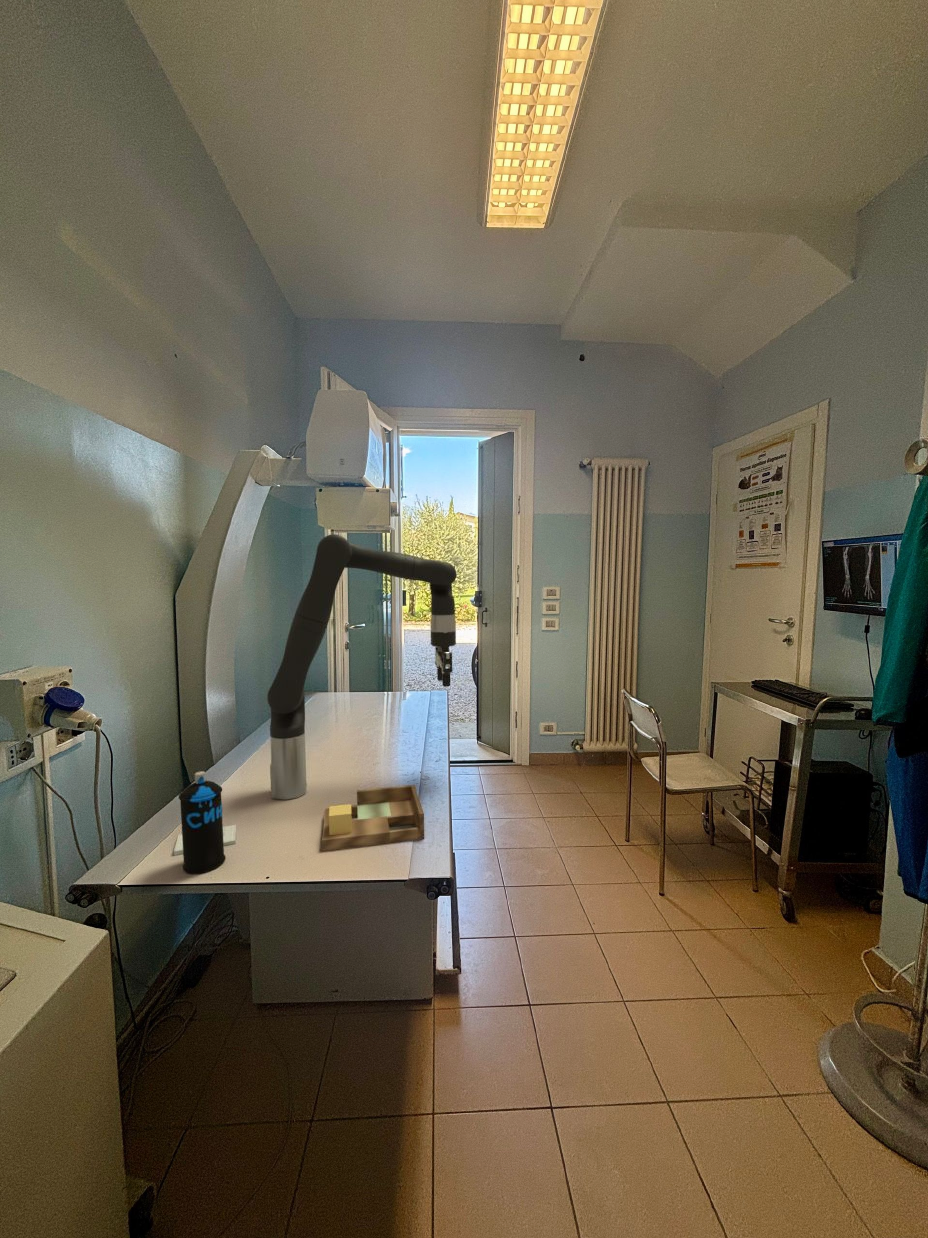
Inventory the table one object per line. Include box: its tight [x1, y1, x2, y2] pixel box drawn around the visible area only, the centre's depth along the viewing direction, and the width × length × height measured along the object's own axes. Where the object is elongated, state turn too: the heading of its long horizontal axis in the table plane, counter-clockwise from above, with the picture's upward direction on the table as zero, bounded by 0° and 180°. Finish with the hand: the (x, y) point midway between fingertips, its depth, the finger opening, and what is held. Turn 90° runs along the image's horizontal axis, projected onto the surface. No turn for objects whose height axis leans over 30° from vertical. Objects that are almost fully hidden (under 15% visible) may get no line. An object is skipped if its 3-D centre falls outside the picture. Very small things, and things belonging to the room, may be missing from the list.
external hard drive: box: [173, 824, 238, 857], centre depth 117 cm, size 2×8×12 cm
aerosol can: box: [178, 770, 227, 875], centre depth 107 cm, size 8×8×20 cm
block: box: [329, 804, 352, 835], centre depth 117 cm, size 5×5×4 cm
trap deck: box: [321, 784, 425, 852], centre depth 123 cm, size 23×17×6 cm
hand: (443, 683), depth 151 cm, fingers open, 8 cm apart
